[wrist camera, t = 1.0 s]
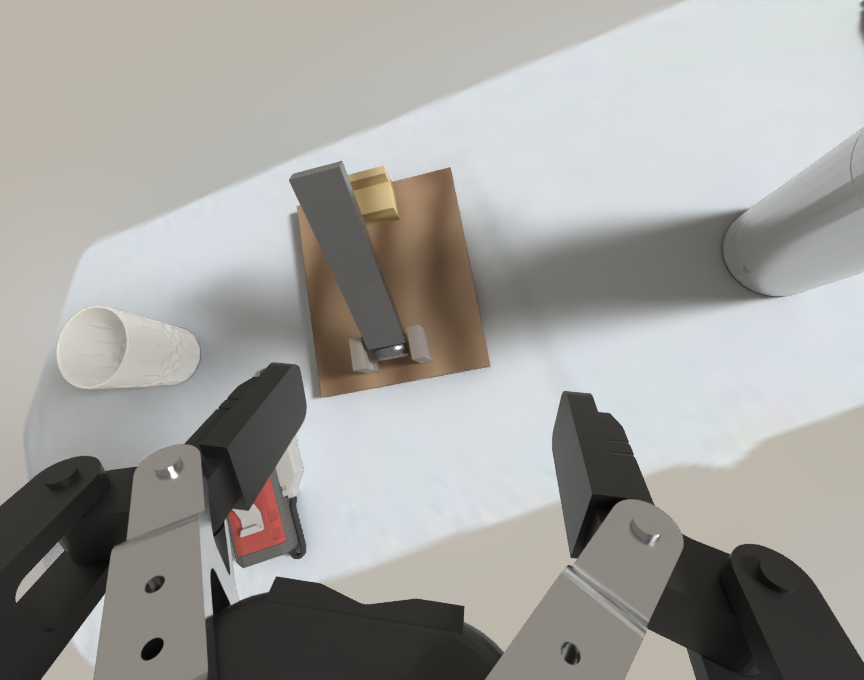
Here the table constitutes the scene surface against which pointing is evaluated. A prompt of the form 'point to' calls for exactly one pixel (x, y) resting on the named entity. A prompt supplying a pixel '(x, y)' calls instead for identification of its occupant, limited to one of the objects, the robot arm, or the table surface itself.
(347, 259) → the strap
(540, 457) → the table surface
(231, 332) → the table surface
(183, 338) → the white cup
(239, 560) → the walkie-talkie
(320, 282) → the latch board
